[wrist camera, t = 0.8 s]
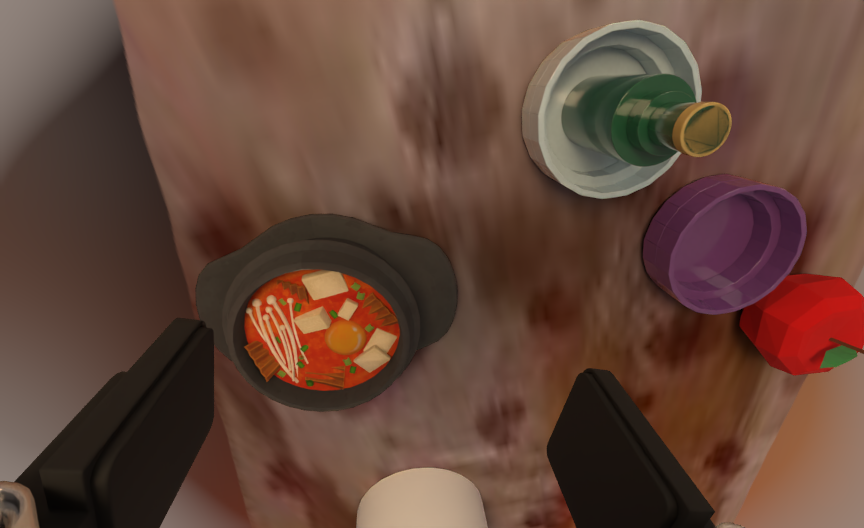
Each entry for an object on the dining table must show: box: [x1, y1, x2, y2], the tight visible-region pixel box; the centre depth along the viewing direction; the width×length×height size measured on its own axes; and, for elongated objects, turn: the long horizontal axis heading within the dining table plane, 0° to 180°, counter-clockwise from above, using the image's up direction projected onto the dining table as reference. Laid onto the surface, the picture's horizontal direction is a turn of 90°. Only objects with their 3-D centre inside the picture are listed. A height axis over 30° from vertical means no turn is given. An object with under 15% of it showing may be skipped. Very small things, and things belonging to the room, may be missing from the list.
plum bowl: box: [643, 174, 807, 315], centre depth 40 cm, size 13×13×5 cm
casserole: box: [196, 214, 457, 412], centre depth 38 cm, size 25×19×8 cm
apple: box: [739, 274, 864, 375], centre depth 42 cm, size 11×11×10 cm
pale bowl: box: [522, 20, 702, 199], centre depth 34 cm, size 13×13×5 cm
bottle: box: [561, 74, 732, 167], centre depth 29 cm, size 6×6×14 cm
